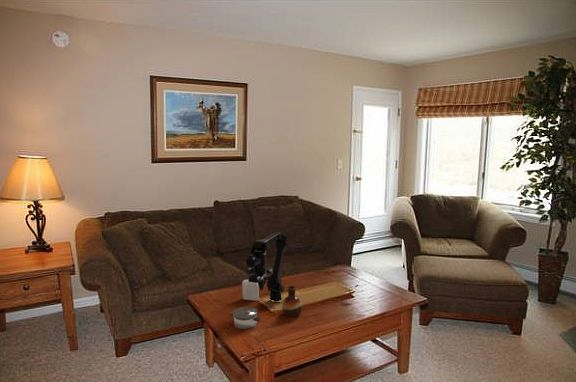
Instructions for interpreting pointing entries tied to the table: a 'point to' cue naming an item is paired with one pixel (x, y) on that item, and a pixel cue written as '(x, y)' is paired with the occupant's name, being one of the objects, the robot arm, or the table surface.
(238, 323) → the cooker pot
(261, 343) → the table surface
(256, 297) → the photo printer
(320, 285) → the table surface
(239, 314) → the cooker lid
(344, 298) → the table surface
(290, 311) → the vase
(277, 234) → the robot arm
